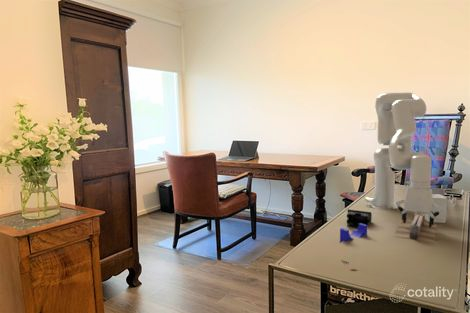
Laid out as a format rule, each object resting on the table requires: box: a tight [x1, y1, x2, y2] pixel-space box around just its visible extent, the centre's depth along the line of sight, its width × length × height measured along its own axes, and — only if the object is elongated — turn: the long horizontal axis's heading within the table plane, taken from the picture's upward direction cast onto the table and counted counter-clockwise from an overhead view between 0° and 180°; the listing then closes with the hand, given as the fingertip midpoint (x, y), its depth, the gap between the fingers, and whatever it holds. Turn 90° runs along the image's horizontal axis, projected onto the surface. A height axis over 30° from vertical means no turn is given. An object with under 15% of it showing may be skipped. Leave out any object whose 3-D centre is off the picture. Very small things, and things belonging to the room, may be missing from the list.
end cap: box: [346, 208, 373, 229], centre depth 152 cm, size 10×7×7 cm
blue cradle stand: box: [339, 223, 368, 244], centre depth 135 cm, size 12×4×6 cm, turn 119°
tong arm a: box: [411, 212, 421, 225], centre depth 142 cm, size 19×2×4 cm, turn 145°
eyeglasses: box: [443, 194, 457, 208], centre depth 184 cm, size 16×19×5 cm
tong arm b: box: [417, 213, 426, 236], centre depth 141 cm, size 19×2×4 cm, turn 147°
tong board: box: [393, 219, 439, 244], centre depth 140 cm, size 24×14×6 cm, turn 146°
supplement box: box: [422, 193, 448, 223], centre depth 153 cm, size 7×7×13 cm
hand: (417, 224), depth 142 cm, fingers open, 9 cm apart
